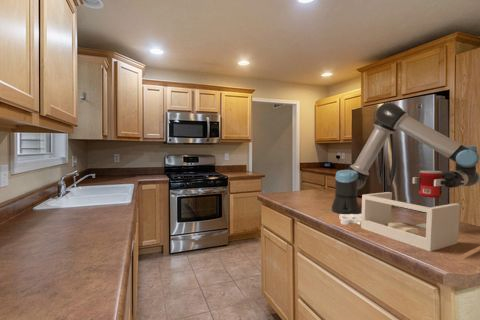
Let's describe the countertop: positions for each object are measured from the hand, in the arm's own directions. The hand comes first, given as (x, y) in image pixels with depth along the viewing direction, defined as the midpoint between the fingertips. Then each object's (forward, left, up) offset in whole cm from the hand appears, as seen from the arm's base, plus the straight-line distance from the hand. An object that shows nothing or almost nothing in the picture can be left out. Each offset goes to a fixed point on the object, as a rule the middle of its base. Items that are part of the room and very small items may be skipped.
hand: (423, 181), depth 109 cm
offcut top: (+1, -15, -19) cm, 24 cm away
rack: (+1, -12, -22) cm, 25 cm away
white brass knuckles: (-22, -13, -23) cm, 34 cm away
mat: (0, +7, -22) cm, 23 cm away
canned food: (0, +5, -7) cm, 8 cm away
